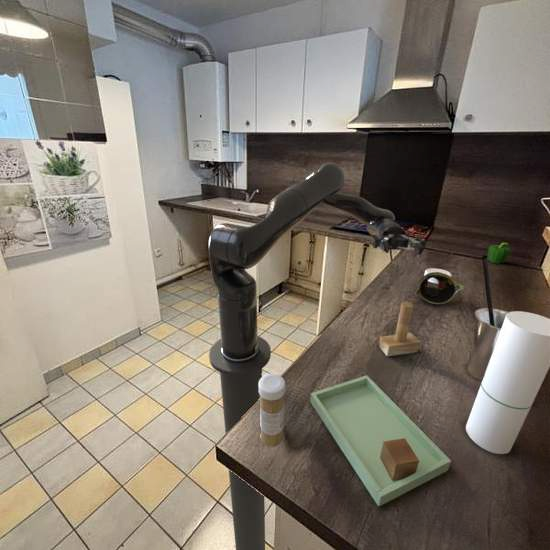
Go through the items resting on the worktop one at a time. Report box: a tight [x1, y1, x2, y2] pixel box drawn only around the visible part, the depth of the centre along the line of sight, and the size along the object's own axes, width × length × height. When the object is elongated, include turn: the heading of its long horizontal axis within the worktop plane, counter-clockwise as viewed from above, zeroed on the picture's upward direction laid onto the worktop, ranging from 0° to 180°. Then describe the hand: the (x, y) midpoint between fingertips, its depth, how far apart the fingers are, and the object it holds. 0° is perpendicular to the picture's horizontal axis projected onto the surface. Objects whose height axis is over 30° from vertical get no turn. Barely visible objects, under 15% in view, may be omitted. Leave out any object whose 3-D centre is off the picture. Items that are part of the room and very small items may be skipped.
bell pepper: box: [487, 242, 511, 265], centre depth 140 cm, size 8×8×10 cm
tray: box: [309, 374, 452, 507], centre depth 55 cm, size 22×15×2 cm
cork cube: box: [380, 438, 419, 481], centre depth 48 cm, size 4×4×4 cm
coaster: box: [423, 267, 453, 285], centre depth 121 cm, size 10×10×4 cm
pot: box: [412, 272, 470, 305], centre depth 106 cm, size 17×11×18 cm
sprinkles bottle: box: [259, 373, 286, 448], centre depth 52 cm, size 5×5×14 cm
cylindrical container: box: [465, 310, 550, 455], centre depth 50 cm, size 7×7×25 cm
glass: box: [466, 255, 510, 382], centre depth 64 cm, size 11×11×30 cm
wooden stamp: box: [378, 301, 422, 357], centre depth 76 cm, size 4×9×14 cm, turn 102°
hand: (403, 250), depth 78 cm, fingers open, 8 cm apart
